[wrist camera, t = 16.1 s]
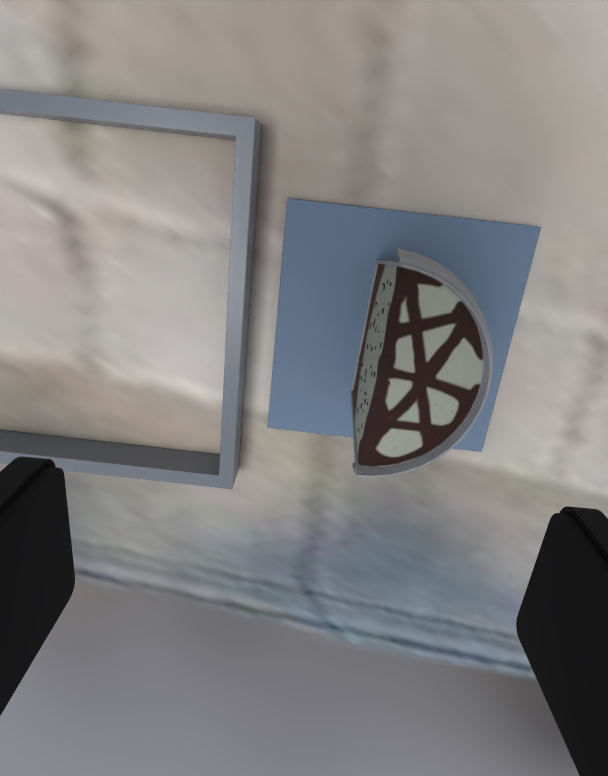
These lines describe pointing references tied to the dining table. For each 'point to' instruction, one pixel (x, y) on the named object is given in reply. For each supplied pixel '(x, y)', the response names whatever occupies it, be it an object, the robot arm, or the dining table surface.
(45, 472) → the robot arm
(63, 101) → the case
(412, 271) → the food container
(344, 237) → the mat
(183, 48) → the dining table surface
